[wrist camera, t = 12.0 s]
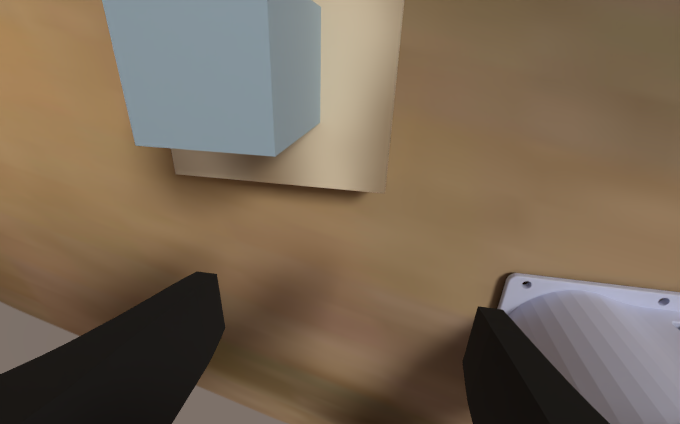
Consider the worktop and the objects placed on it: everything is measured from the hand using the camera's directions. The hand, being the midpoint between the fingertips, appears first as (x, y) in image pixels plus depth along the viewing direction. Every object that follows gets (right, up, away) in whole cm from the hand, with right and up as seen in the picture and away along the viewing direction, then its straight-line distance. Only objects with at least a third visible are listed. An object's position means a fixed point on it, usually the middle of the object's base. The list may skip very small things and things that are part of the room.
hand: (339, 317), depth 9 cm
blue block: (-3, +9, +5) cm, 11 cm away
